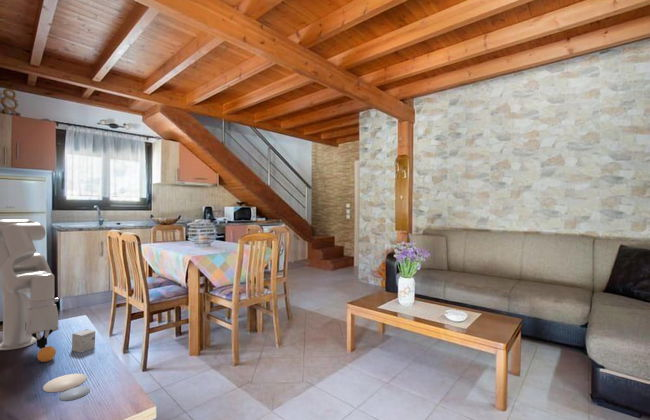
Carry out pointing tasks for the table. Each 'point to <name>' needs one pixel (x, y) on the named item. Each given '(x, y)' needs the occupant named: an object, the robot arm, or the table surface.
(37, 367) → the table surface
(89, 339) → the skincare box
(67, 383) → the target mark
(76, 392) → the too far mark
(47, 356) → the ball
